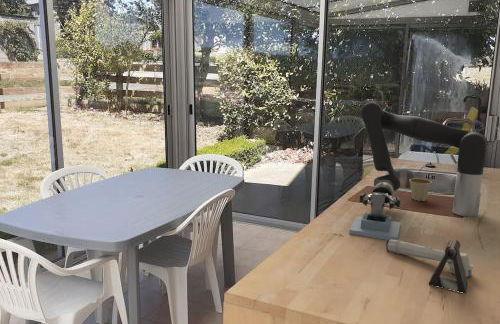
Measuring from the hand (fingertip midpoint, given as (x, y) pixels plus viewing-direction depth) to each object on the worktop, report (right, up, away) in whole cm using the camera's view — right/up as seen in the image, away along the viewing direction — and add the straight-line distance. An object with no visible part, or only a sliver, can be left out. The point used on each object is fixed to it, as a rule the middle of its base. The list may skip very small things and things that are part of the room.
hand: (377, 204), depth 151 cm
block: (0, -9, +3) cm, 10 cm away
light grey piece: (+8, -16, -23) cm, 29 cm away
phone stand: (+8, -18, -36) cm, 41 cm away
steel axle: (0, -8, +3) cm, 8 cm away
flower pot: (+31, -2, +42) cm, 53 cm away
